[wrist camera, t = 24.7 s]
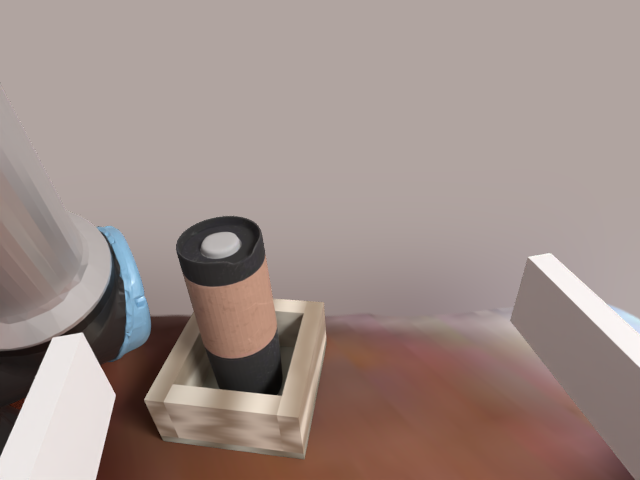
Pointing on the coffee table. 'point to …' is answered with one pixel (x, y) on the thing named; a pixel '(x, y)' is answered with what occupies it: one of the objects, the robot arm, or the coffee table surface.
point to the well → (243, 407)
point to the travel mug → (233, 302)
